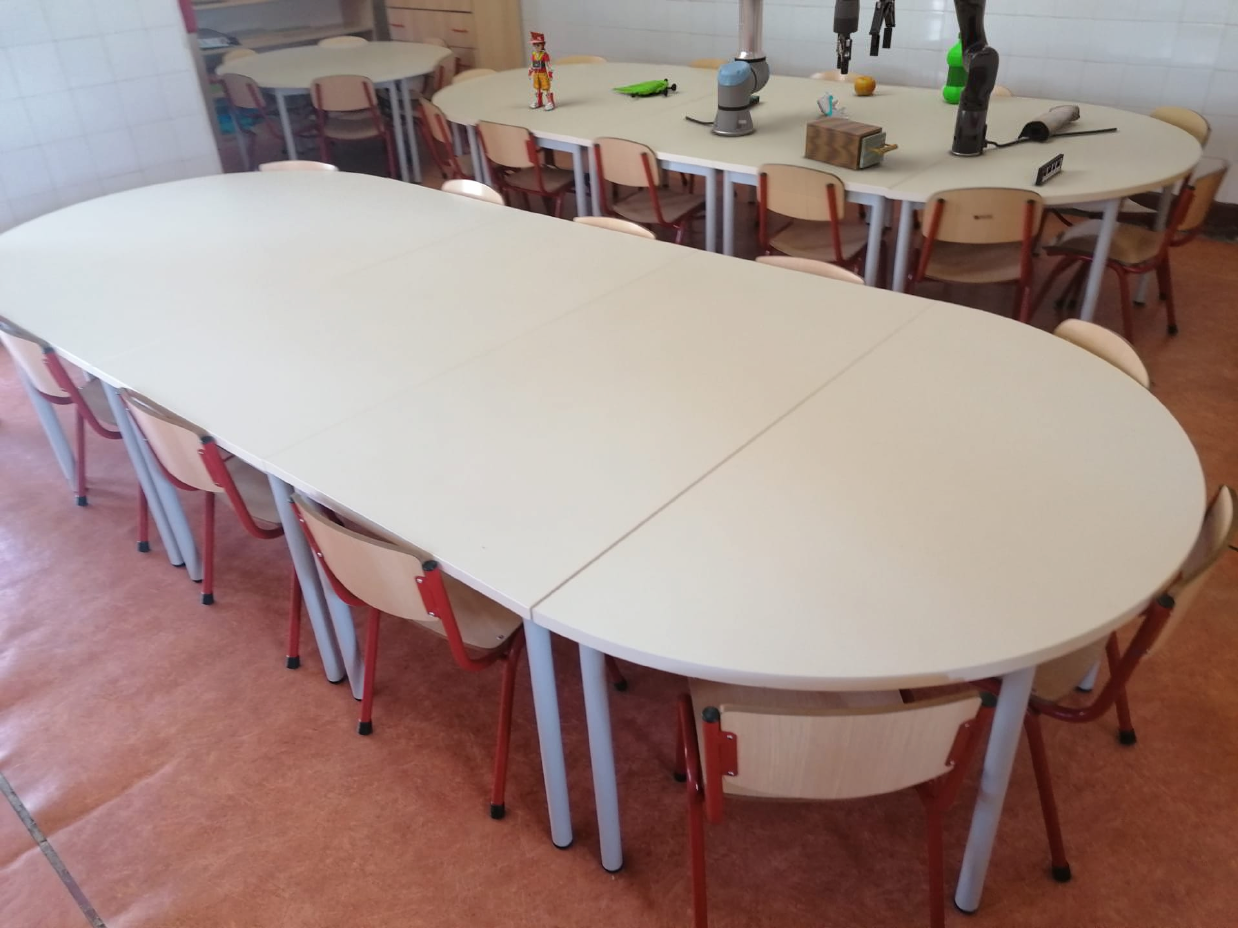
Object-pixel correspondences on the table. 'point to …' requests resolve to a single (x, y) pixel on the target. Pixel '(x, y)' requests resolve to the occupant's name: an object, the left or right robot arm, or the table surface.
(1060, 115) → the rolled mat
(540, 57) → the toy
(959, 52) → the plastic bottle
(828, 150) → the cabinet
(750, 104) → the disk drive
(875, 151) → the drawer
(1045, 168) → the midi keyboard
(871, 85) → the fruit
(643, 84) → the toy
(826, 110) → the anatomical model
